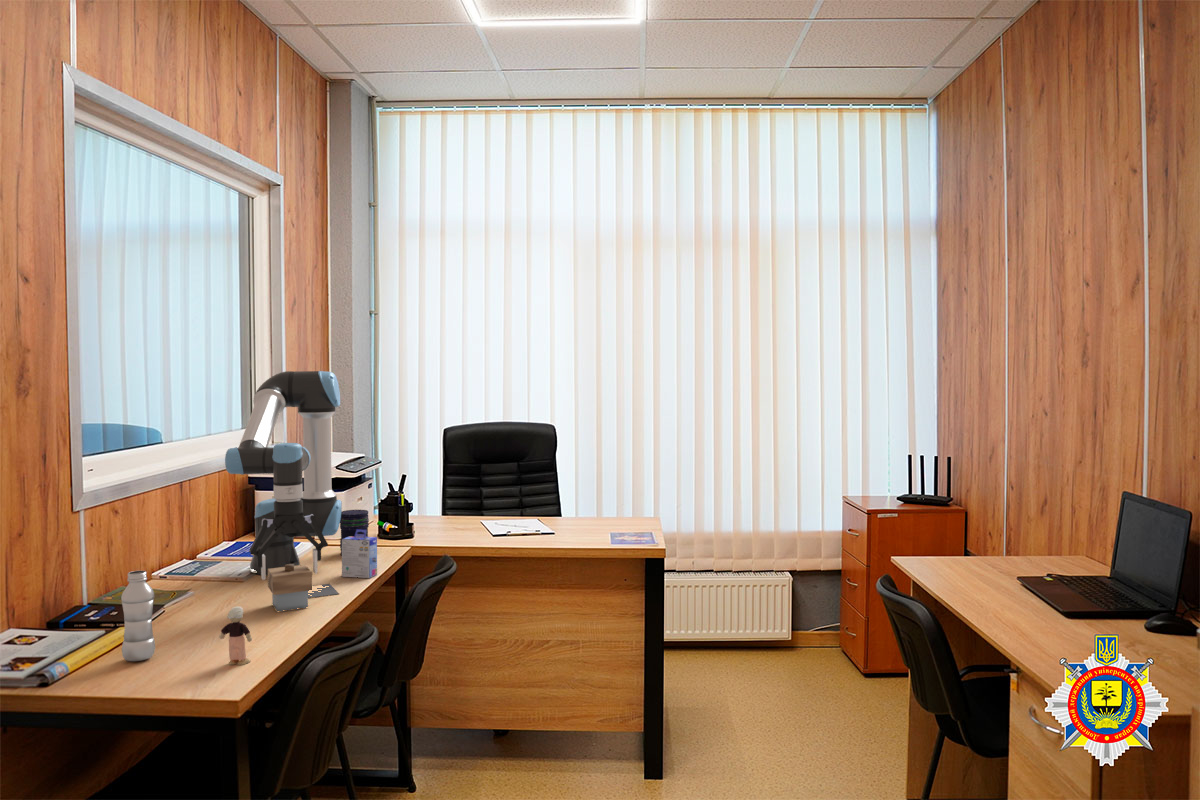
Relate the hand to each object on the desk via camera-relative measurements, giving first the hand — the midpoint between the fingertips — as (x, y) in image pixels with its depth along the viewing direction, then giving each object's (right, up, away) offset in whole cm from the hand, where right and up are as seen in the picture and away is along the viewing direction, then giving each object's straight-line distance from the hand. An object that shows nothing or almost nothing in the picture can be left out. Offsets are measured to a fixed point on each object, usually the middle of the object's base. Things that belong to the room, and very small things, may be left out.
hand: (289, 575), depth 230 cm
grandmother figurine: (+4, -11, -43) cm, 45 cm away
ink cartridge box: (+10, -7, +33) cm, 36 cm away
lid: (0, -4, 0) cm, 4 cm away
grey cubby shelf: (0, -9, 0) cm, 9 cm away
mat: (+1, -8, +14) cm, 17 cm away
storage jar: (-1, -6, +64) cm, 64 cm away
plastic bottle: (-19, -10, -42) cm, 47 cm away
